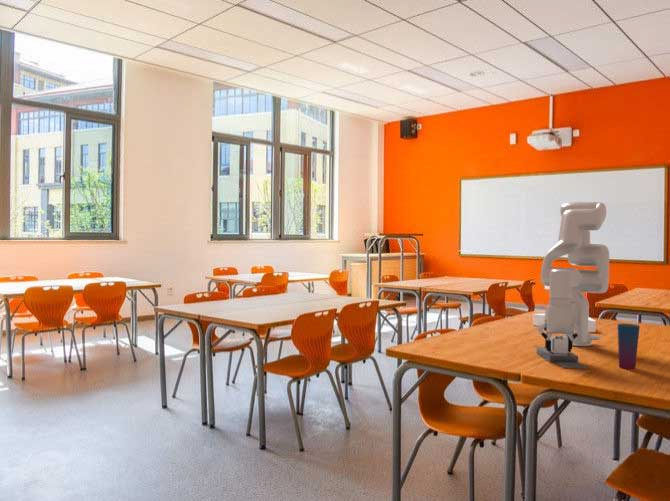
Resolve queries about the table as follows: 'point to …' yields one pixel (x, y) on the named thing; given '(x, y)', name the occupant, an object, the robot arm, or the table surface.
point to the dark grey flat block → (556, 356)
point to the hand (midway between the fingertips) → (558, 350)
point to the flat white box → (539, 320)
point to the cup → (627, 345)
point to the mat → (571, 365)
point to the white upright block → (559, 345)
